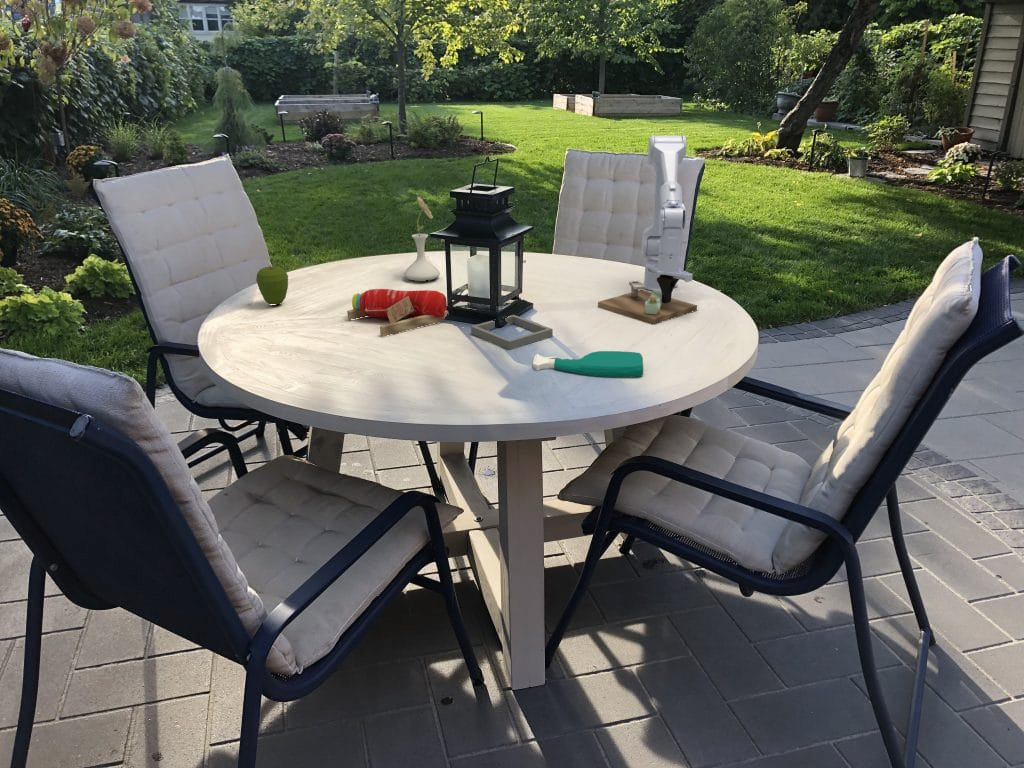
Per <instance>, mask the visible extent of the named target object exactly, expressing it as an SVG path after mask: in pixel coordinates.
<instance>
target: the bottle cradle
mask: <svg viewBox="0 0 1024 768" xmlns="http://www.w3.org/2000/svg"><path fill="white" fill-rule="evenodd" d="M447 314H448V315H449V310H447V309H446V311H445V312H444V316H443V317H434V316H433V315H422V316H418V317H414V318H406V319H402V320H400V321H398V322H394V323H387V324H383V325H380V326H379V332H380V333H379V335H382V336H386V337H388V336H387V335H390V334H393V335H396V334H395V333H397V334H400V333H399V332H401V333H403V332H402V331H405V332H407V331H406V330H409V331H411V330H410V329H413V330H415V329H414V328H417V327H421V326H424V327H426V326H425V325H428V326H430V325H429V324H432V325H434V324H433V323H436V324H438V322H440V323H443V322H442V321H443V320H444V319H445V317H446V316H447ZM346 315H347V320H348V319H350V320H351V319H356V318H360V317H365V316H368V315H366V314H365V313H363V312H362V311H361V310H359V309H357V310H356V309H353V308H352V309H349V310H347V314H346ZM350 320H349V321H350ZM421 328H422V327H421ZM417 329H418V328H417ZM382 336H381V337H382ZM390 336H391V335H390Z"/></svg>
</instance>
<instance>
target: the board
mask: <svg viewBox="0 0 1024 768" xmlns="http://www.w3.org/2000/svg"><path fill="white" fill-rule="evenodd" d="M643 284H644V283H642V282H641V281H640V280H637V281H628V285H629V286H630V288H631V290H630V292H628V293H625V294H621V295H617V296H615V297H611V298H607V299H604V300H600V301H597V308H600V309H603V310H606V311H610V312H613V313H615V314H619V315H621V314H622V316H625V317H628V318H632V319H634V318H635V319H634V320H637V319H638V320H637V321H640V320H641V321H640V322H644V323H648V324H650V323H651V325H653V324H654V325H657V324H659V323H662V321H663V322H667V321H669V320H672V319H671V318H673V319H675V318H674V317H676V318H678V316H679V317H681V315H682V316H684V315H683V314H685V315H687V314H686V313H688V314H690V313H689V312H691V313H693V312H692V311H694V312H696V311H695V310H697V311H698V305H697V304H694V303H690V302H686V301H683V300H680V299H676V298H673V297H671V301H670V302H669V303H666V304H665V303H662V305H661V307H660V313H658V314H646V313H645V302H646V301H648V300H649V298H650V301H649V302H650V303H656V300H657V297H650V296H651V294H652V291H649V290H646V289H645V285H643ZM668 319H669V320H668Z"/></svg>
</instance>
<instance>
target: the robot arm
mask: <svg viewBox="0 0 1024 768" xmlns="http://www.w3.org/2000/svg"><path fill="white" fill-rule="evenodd" d="M647 153H648V154H647V161H648V165H650V166H653V167H654V172H655V176H654V179H655V180H654V192H653V193H654V198H653V200H654V201H653V213H652V214H653V215H652V223H651V225H649V226H647V227H646V228H645V229H644V230H643V232H642V239H641V244H640V245H641V246H640V250H641V252H640V253H641V256H642V257H643V258H645V263H644V264H645V266H644V282H643V283H642V284H643V285H645V289H644V290H647V291H651V292H653V291H654V289H656V290H661V292H662V303H665V304H666V303H669V302H670V301H671V298H672V294H673V291H674V289H675V288H676V287H679V286H678V284H677V283H678V282H679V281H680V280H681V281H684V282H685V283H689V282H692V281H693V275H694V274H693V273H691V272H688V271H686V270H683V269H681V267H680V265H681V255H682V240H683V239H682V238H683V230H684V229H685V228H686V222H687V212H686V207H685V204H684V203H683V188H682V186H681V184H680V183H678V171H679V169H678V167H679V165H681V163H683V160H684V159H685V157H686V153H687V137H686V136H685V135H684V134H681V135H654V134H651V136H650V137H649V139H648V151H647Z"/></svg>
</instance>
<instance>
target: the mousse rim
mask: <svg viewBox="0 0 1024 768" xmlns="http://www.w3.org/2000/svg"><path fill="white" fill-rule="evenodd" d="M506 317H507V316H506ZM505 321H506V322H507V324H511V325H515V324H517V325H516V326H518V325H519V326H518V327H520V326H522V327H521V328H523V327H525V328H524V329H526V328H527V329H526V330H528V329H529V330H528V331H531V330H532V331H531V332H532V333H528V334H526V335H525V334H524V335H522V336H518V337H515V338H511V339H509V338H507V337H504V336H503V335H499V334H496V333H494V332H491V330H490V329H493V328H494V327H495V321H493V320H489V321H485V322H482V323H478V324H474V325H472V326H470V334H471V335H473V336H476V337H477V338H480V337H481V339H483V340H485V341H487V340H488V341H487V342H490V343H492V342H493V343H492V344H494V345H497V346H499V345H500V347H501V348H505V349H507V350H513V349H517V348H520V347H522V345H523V346H526V345H525V344H527V345H529V343H530V344H533V343H536V342H539V340H540V341H543V340H546V339H550V338H552V337H554V336H553V335H554V334H553V333H554V332H553V328H551V327H548V326H545V325H543V324H539V323H537V322H534V321H532V320H529V319H526V318H523V317H520V316H518V315H515V314H511V315H508V317H507V318H505ZM512 323H514V324H512ZM487 330H489V331H487ZM493 330H494V329H493ZM549 337H550V338H549ZM545 338H546V339H545ZM542 339H543V340H542ZM535 341H536V342H535ZM532 342H533V343H532ZM519 346H520V347H519ZM516 347H517V348H516Z"/></svg>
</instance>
